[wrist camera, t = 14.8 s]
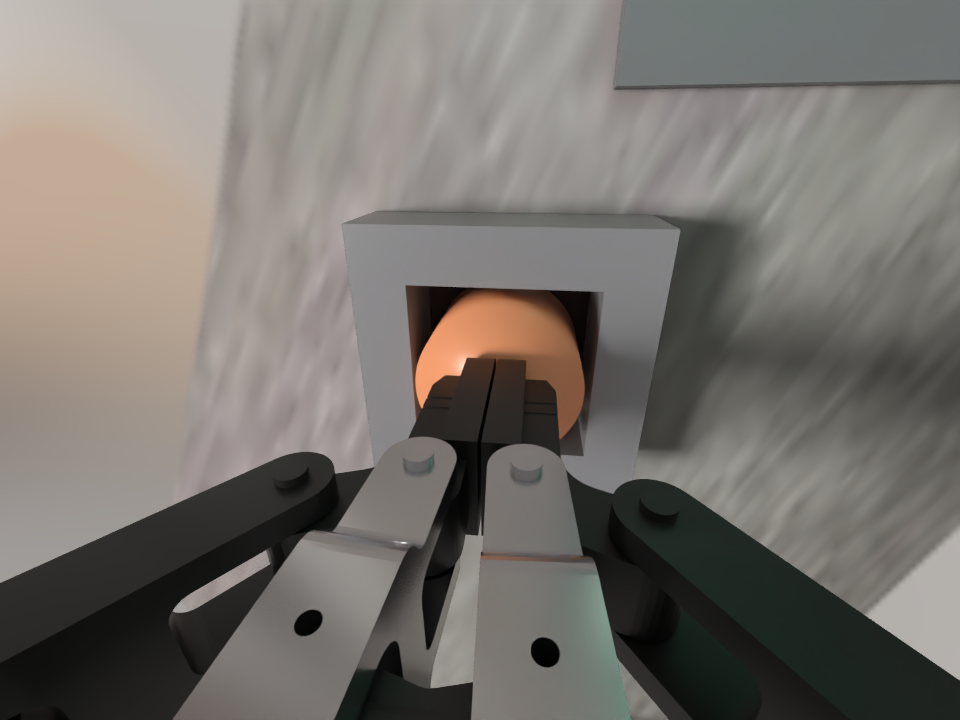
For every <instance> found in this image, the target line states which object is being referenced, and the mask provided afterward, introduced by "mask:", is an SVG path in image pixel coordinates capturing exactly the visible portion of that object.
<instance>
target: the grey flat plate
mask: <svg viewBox="0 0 960 720" xmlns="http://www.w3.org/2000/svg"><path fill="white" fill-rule="evenodd" d="M933 83H960V0H623V5H622V14H621V23H620V32H619V41H618V50H617V59H616V68H615V77H614V85H613V89H655V88H711V87H766V86H822V85H878V84H933Z"/></svg>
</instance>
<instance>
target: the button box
mask: <svg viewBox="0 0 960 720" xmlns="http://www.w3.org/2000/svg"><path fill="white" fill-rule="evenodd" d="M680 231H681V230H680V229H679V228H677V227H675V226H673V225H671V224H670V223H668V222H666V221H664V220H662V219H660V218H659V217H657V216H655V215H606V214H532V213H459V212H385V211H375V212H373V213H370V214H367V215H364V216H362V217H359V218H356V219H353V220H351V221H348V222H345V223H342V232H343V239H344V247H345V254H346V261H347V269H348V276H349V283H350V291H351V298H352V305H353V313H354V320H355V328H356V335H357V342H358V350H359V357H360V364H361V372H362V379H363V386H364V394H365V401H366V409H367V416H368V423H369V431H370V438H371V445H372V453H373V460H374V467H375V466H376V464H377V463H378V461H379V460H380V458H381V457H382V455H383V454H384V452H385V451H386V450H387V449H388V448H389V447H391V446H392V445H394V444H396V443H398V442H400V441H402V440H405V439H408V437H409V435H410V433H411V431H412V429H413V426H414V424H415V422H416V420H417V418H418V416H419V413H420V411H421V409H422V408H421V406H420V404H419V400H418V397H417V392H416V381H415V376H416V369H417V364H418V361H419V358H420V355H421V353H422V351H423V349H424V347H425V346H426V344H427V342H428V341H429V339H430V337H431V335H432V330H431V312H430V294H429V286H442V287H473V288H503V289H533V290H563V291H590V300H589V309H588V317H587V326H586V335H585V344H584V353H583V362H582V370H583V375H584V383H585V392H584V400H583V405H582V408H581V411H580V413H579V416H578V417H577V419H576V421H575V423H574V424H573V426H572V427H571V428H570V430H569V431H568V432H567V433H566V434H565V435H564V436H563V437H562V438H561V439H560V454H561V460H562V461H563V463H564V465H565V468H566V470H567V471H568V472H569V473H570V474H571V475H572V476H573V477H574V478H576V479H577V480H579V481H580V482H582V483H584V484H586V485H588V486H590V487H593V488H596V489H599V490H602V491H605V492H609V493H612V494H614V492H615V490H616V489H617V488H618V487H619V486H620V485H622V484H623V483H626V482H628V481H632V480H633V474H634V469H635V464H636V459H637V454H638V448H639V443H640V438H641V433H642V428H643V423H644V417H645V412H646V407H647V402H648V397H649V391H650V386H651V381H652V376H653V371H654V366H655V360H656V355H657V350H658V345H659V340H660V335H661V329H662V324H663V319H664V314H665V309H666V303H667V298H668V293H669V288H670V283H671V278H672V272H673V267H674V262H675V257H676V252H677V246H678V241H679V236H680Z"/></svg>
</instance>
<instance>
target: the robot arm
mask: <svg viewBox="0 0 960 720" xmlns="http://www.w3.org/2000/svg"><path fill="white" fill-rule="evenodd" d="M480 520H481V525H482V536H483V551H482V552H481V558H480V572H479V590H478V607H477V625H476V642H475V660H474V677H473V682H472V683H466V684H459V685H453V686H446V687H440V688H431V689H430V685H431V676H432V670H433V665H434V661H435V657H436V653H437V650H438V646H439V642H440V639H441V635H442V632H443V628H444V625H445V621H446V617H447V614H448V610H449V607H450V603H451V599H452V596H453V592H454V589H455V585H456V581H457V578H458V574H459V571H460V556H461V553H462V550H463V545H464V540H465V534H468V535H478V533H479V526H480ZM265 550H266V552H267V555H268V558H269V561H270V565H268V566H267V567H265V568H263V569H262V570H260V571H258V572H257V573H255V574H253V575H252V576H250V577H248V578H247V579H245V580H243V581H241V582H240V583H238V584H236V585H235V586H233V587H231V588H230V589H228V590H226V591H225V592H223V593H221V594H220V595H218V596H216V597H215V598H213V599H211V600H210V601H208V602H206V603H205V604H203V605H201V606H200V607H198V608H196V609H194V610H192V611H189V612H185V613H175V612H172V611H173V609H174V608H175V606H176V605H177V604H178V603H179V602H180V601H181V600H182V599H183V598H185V597H186V596H187V595H189V594H190V593H192V592H194V591H195V590H197V589H199V588H201V587H202V586H204V585H206V584H208V583H209V582H211V581H213V580H215V579H216V578H218V577H220V576H222V575H223V574H225V573H227V572H228V571H230V570H232V569H234V568H235V567H237V566H239V565H241V564H242V563H244V562H246V561H248V560H249V559H251V558H253V557H255V556H256V555H258V554H260V553H262V552H263V551H265ZM617 658H618V659H619V661H620V662H621V663H622V664H623V665H624V667H625V668H626V669H627V670H628V671H629V673H630V674H631V675H632V676H633V677H634V678H635V680H636V681H637V682H638V683H639V684H640V686H641V687H642V688H643V689H644V690H645V692H646V693H647V694H648V695H649V696H650V697H651V699H652V700H653V701H654V702H655V703H656V705H657V706H658V707H659V708H660V709H661V711H662V712H663V713H664V714H665V715H666V716H667V718H668V719H669V720H960V680H958V679H956V678H955V677H954V676H952V675H951V674H949V673H948V672H946V671H945V670H944V669H942V668H941V667H939V666H937V665H936V664H935V663H933V662H932V661H930V660H929V659H927V658H926V657H925V656H923V655H922V654H920V653H919V652H917V651H916V650H914V649H913V648H911V647H910V646H908V645H907V644H906V643H904V642H902V641H901V640H900V639H898V638H897V637H895V636H894V635H893V634H891V633H890V632H888V631H887V630H885V629H884V628H882V627H881V626H879V625H878V624H876V623H875V622H874V621H872V620H871V619H869V618H868V617H866V616H865V615H863V614H862V613H861V612H859V611H858V610H856V609H855V608H853V607H852V606H850V605H849V604H847V603H846V602H845V601H843V600H842V599H840V598H839V597H837V596H836V595H834V594H833V593H831V592H830V591H829V590H827V589H826V588H824V587H823V586H821V585H820V584H818V583H817V582H815V581H814V580H812V579H811V578H810V577H808V576H807V575H805V574H804V573H802V572H801V571H799V570H798V569H796V568H795V567H794V566H792V565H791V564H789V563H788V562H786V561H785V560H783V559H782V558H780V557H779V556H778V555H776V554H775V553H773V552H772V551H770V550H769V549H767V548H766V547H764V546H763V545H762V544H760V543H759V542H757V541H756V540H754V539H753V538H751V537H750V536H748V535H747V534H746V533H744V532H743V531H741V530H740V529H738V528H737V527H735V526H734V525H732V524H731V523H730V522H728V521H727V520H725V519H724V518H722V517H721V516H719V515H718V514H716V513H715V512H713V511H712V510H711V509H709V508H708V507H706V506H705V505H703V504H702V503H700V502H699V501H697V500H696V499H695V498H693V497H692V496H690V495H689V494H687V493H686V492H684V491H682V490H681V489H679V488H677V487H675V486H673V485H670V484H667V483H665V482H661V481H657V480H650V479H638V480H632V481H628V482H626V483H623V484H622V485H620V486H619V487H618V488H617V489H616V490H615V492H614V494H612V493H609V492H605V491H602V490H599V489H596V488H593V487H590V486H588V485H586V484H584V483H582V482H580V481H579V480H577V479H576V478H574V477H573V476H572V475H571V474H570V473H569V472H568V471H567V470H566V468H565V465H564V463H563V461H562V460H561V454H560V440H559V425H558V411H557V396H556V391H555V389H554V388H553V387H552V386H551V385H550V384H549V382H548V381H547V380H529V379H526V360H511V359H498V361H497V366H496V359H489V358H468V357H467V359H466V361H465V364H464V367H463V370H462V373H461V375H460V376H453V375H445V376H444V377H442V378H441V379H440V380H438V381H437V382H436V383H434V384H433V385H432V387H431V389H430V392H429V394H428V396H427V398H426V400H425V403H424V405H423V408H422V409H421V411H420V413H419V416H418V418H417V420H416V422H415V424H414V426H413V429H412V431H411V433H410V435H409V437H408V439H405V440H402V441H400V442H398V443H396V444H394V445H392V446H391V447H389V448H388V449H387V450H386V451H385V452H384V454H383V455H382V457H381V458H380V460H379V461H378V463H377V464H376V466H375V467H373V468H370V469H364V470H358V471H351V472H345V473H338V474H335V470H334V465H333V463H332V461H331V460H330V459H329V458H328V457H326V456H324V455H322V454H319V453H314V452H300V453H293V454H289V455H285V456H282V457H280V458H277V459H275V460H273V461H270V462H268V463H266V464H264V465H261V466H259V467H257V468H255V469H253V470H250V471H248V472H246V473H244V474H241V475H239V476H237V477H235V478H233V479H230V480H228V481H226V482H224V483H221V484H219V485H217V486H215V487H213V488H210V489H208V490H206V491H204V492H201V493H199V494H197V495H195V496H193V497H190V498H188V499H186V500H184V501H182V502H179V503H177V504H175V505H173V506H170V507H168V508H166V509H164V510H162V511H159V512H157V513H155V514H153V515H150V516H148V517H146V518H144V519H142V520H140V521H137V522H135V523H133V524H130V525H128V526H126V527H124V528H122V529H119V530H117V531H115V532H113V533H110V534H108V535H106V536H104V537H102V538H99V539H97V540H95V541H93V542H90V543H88V544H86V545H84V546H82V547H79V548H77V549H75V550H73V551H71V552H68V553H66V554H64V555H62V556H59V557H57V558H55V559H53V560H51V561H48V562H46V563H44V564H42V565H40V566H38V567H35V568H33V569H31V570H28V571H26V572H24V573H22V574H20V575H17V576H15V577H13V578H11V579H9V580H6V581H4V582H2V583H0V720H631V718H630V714H629V709H628V705H627V700H626V696H625V691H624V687H623V682H622V678H621V674H620V669H619V665H618V660H617Z"/></svg>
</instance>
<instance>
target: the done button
mask: <svg viewBox="0 0 960 720" xmlns="http://www.w3.org/2000/svg"><path fill="white" fill-rule="evenodd" d="M467 357H468V358H489V359H496V366H497V361H498V359H511V360H526V379H529V380H547V381H548V382H549V384H550V385H551V386H552V387H553V388H554V389H555V391H556V396H557V411H558V425H559V440H560V439H561V438H562V437H563V436H564V435H565V434H566V433H567V432H568V431H569V430H570V428H571V427H572V426H573V424H574V423H575V421H576V419H577V417H578V416H579V413H580V411H581V408H582V405H583V400H584V392H585V383H584V375H583V370H582V365H581V360H580V355H579V350H578V344H577V339H576V334H575V330H574V326H573V322H572V320H571V318H570V315H569V313H568V312H567V310H566V309H565V307H564V306H563V304H562V303H561V302H560V301H559V300H558V299H557V298H556V297H555V296H554V295H553V294H552V293H551V292H549V291H548V290H533V289H503V288H473V287H469V288H467V289H466V290H464V291H463V292H462V293H460V294H459V295H458V296H457V297H456V298H455V299H454V300H453V301H452V303H451V304H450V305H449V307H448V308H447V310H446V312H445V313H444V315H443V317H442V318H441V320H440V322H439V324H438V325H437V327H436V329H435V330H434V332H433V334H432V335H431V337H430V339H429V341H428V342H427V344H426V346H425V347H424V349H423V351H422V353H421V355H420V358H419V361H418V364H417V369H416V376H415V381H416V392H417V397H418V400H419V404H420V406H421V408H423V405H424V403H425V400H426V398H427V396H428V394H429V392H430V389H431V387H432V385H433V384H434V383H436V382H437V381H438V380H440V379H441V378H442V377H444V376H445V375H453V376H460V375H461V373H462V370H463V367H464V364H465V361H466V359H467Z"/></svg>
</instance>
